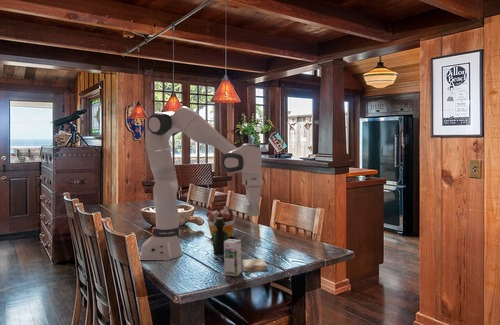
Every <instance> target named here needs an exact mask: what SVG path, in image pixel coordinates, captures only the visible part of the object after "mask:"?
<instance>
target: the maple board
mask: <svg viewBox="0 0 500 325" xmlns="http://www.w3.org/2000/svg"><path fill="white" fill-rule="evenodd" d="M241 267H243V268H242V269H243V271H244V272H255V271H256V272H257V271H267V270H268V266H267V263H266V261H265V259H264V258H252V259H251V258H249V259H241Z"/></svg>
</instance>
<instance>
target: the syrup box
mask: <svg viewBox="0 0 500 325" xmlns="http://www.w3.org/2000/svg"><path fill="white" fill-rule="evenodd" d="M223 256H224V258H223V259H224V276H229V277H237V276H239V275H240V274H241V273H242V240H241V239H234V238H233V239H231V238H228V240H226V241H225V242H224V255H223Z"/></svg>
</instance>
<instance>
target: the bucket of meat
mask: <svg viewBox="0 0 500 325" xmlns="http://www.w3.org/2000/svg"><path fill="white" fill-rule="evenodd" d="M210 204H211V206H210V205H208V206H207V210H208V211H207V212H206V217H207V219H206V223H207V225H208V229H209V232H210V237H212V234H213V233H214V232H215V231H217V228H216V226H214V223H215V222H216V218H218V217H222V218H223V222H225V224H226V225H224V226H223V231H225V232H227V233H228V239H230V237H232V236H233V231H234V226H235V221H236V218H238V215H237V214H233V213H234V212H233V209H232V208H229V207H230V206H229V205H228V204H226V205H225V206H223V208H221V205H220V203H219V202H217V203H215V201H211V203H210Z"/></svg>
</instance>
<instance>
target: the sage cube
mask: <svg viewBox="0 0 500 325" xmlns="http://www.w3.org/2000/svg"><path fill="white" fill-rule="evenodd" d="M246 215H247V216H248V217H258V216H260V203H259V204H257V205H256V212H255V213H252V205H251V203H249V202H246Z"/></svg>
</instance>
